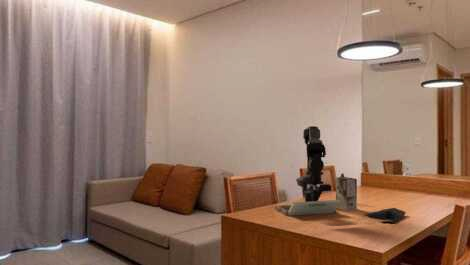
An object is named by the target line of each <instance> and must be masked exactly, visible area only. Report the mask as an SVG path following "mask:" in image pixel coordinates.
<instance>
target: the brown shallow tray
mask: <svg viewBox="0 0 470 265" xmlns="http://www.w3.org/2000/svg"><path fill="white" fill-rule="evenodd" d="M291 205H292V204H286V205H285V204H283V205H282V204H281V205H274V211H277V213H280V214H282V215H283V216H289V215H288V211H289V209H290V207H291ZM334 213H337V209H336V210H335V212H334Z"/></svg>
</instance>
